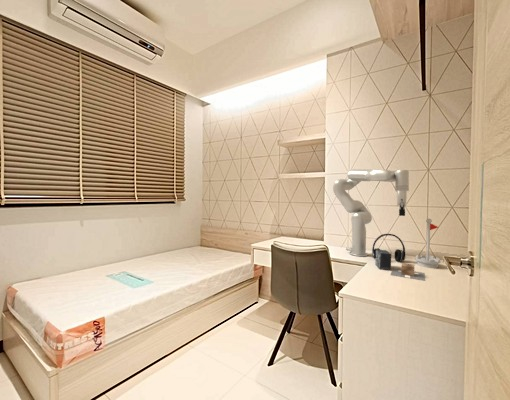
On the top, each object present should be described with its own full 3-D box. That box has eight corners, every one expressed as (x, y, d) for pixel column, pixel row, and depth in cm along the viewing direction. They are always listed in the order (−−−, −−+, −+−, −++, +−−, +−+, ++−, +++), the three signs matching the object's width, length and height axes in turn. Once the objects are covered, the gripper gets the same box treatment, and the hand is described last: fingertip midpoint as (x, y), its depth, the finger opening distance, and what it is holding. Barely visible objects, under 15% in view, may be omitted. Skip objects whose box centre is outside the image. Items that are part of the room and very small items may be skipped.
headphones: (374, 261, 168) (374, 234, 168) (371, 258, 175) (371, 232, 175) (406, 262, 165) (407, 235, 165) (401, 260, 172) (402, 233, 171)
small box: (391, 271, 146) (392, 253, 146) (379, 270, 148) (380, 253, 147) (386, 266, 157) (386, 249, 156) (374, 265, 158) (375, 249, 158)
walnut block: (401, 274, 139) (401, 265, 139) (401, 271, 144) (402, 262, 144) (414, 276, 136) (414, 267, 136) (414, 273, 141) (414, 264, 141)
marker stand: (415, 266, 158) (416, 218, 157) (415, 261, 169) (416, 217, 168) (440, 269, 151) (442, 220, 150) (439, 264, 162) (441, 218, 161)
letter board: (390, 276, 138) (390, 275, 138) (392, 269, 151) (392, 267, 151) (425, 282, 129) (425, 281, 129) (424, 273, 143) (424, 272, 143)
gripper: (395, 189, 172) (395, 214, 172) (395, 188, 157) (395, 215, 157) (408, 189, 168) (408, 214, 168) (409, 188, 153) (409, 216, 154)
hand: (402, 215), depth 163 cm, fingers open, 9 cm apart
